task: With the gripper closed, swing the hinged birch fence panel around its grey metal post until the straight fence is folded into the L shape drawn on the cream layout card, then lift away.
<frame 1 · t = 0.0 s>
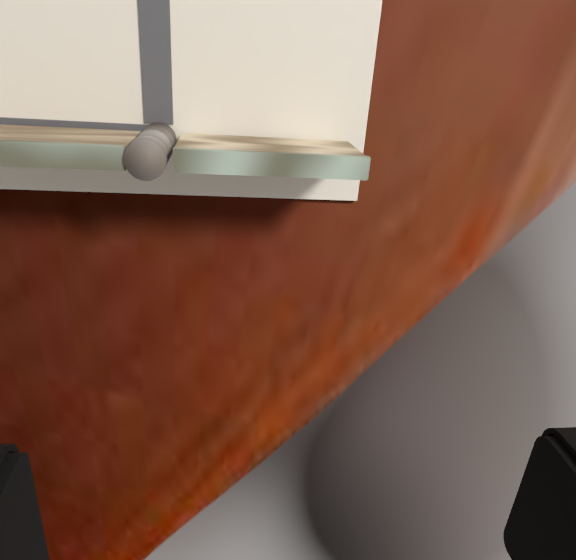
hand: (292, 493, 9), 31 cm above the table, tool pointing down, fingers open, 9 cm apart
layout card: (156, 47, 34), on the table
fence panel: (269, 154, 33), point 4 cm above the table, hinge at 0.0°
fence base: (160, 138, 36), resting on layout card
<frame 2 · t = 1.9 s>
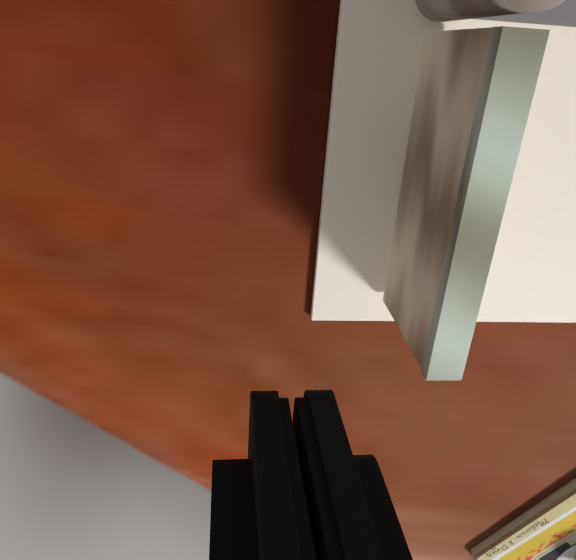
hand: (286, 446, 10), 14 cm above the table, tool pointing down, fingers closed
fence panel: (441, 202, 20), point 4 cm above the table, hinge at 0.0°
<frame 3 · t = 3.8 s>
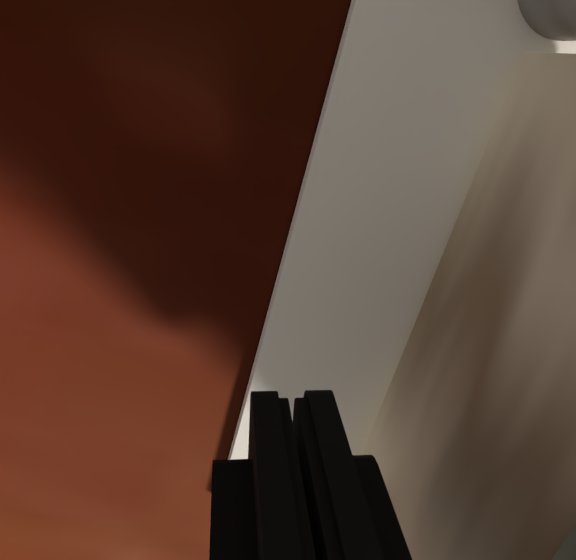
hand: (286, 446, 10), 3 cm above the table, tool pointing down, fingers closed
fence panel: (507, 412, 9), point 4 cm above the table, hinge at 0.1°, touching gripper
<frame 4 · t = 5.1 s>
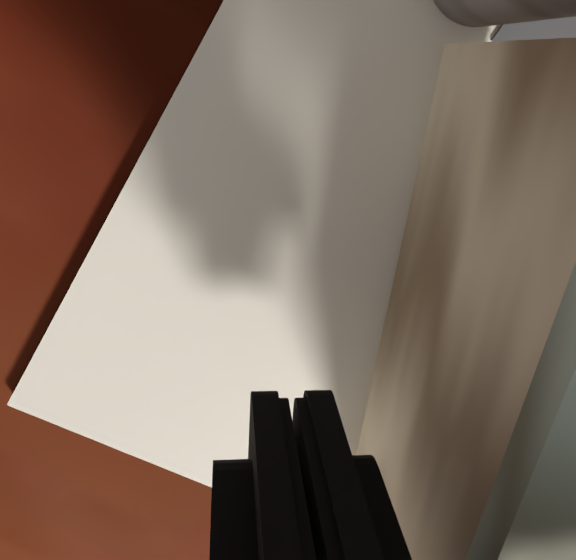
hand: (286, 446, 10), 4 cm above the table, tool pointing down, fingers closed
fence panel: (462, 381, 10), point 4 cm above the table, hinge at 26.9°, touching gripper
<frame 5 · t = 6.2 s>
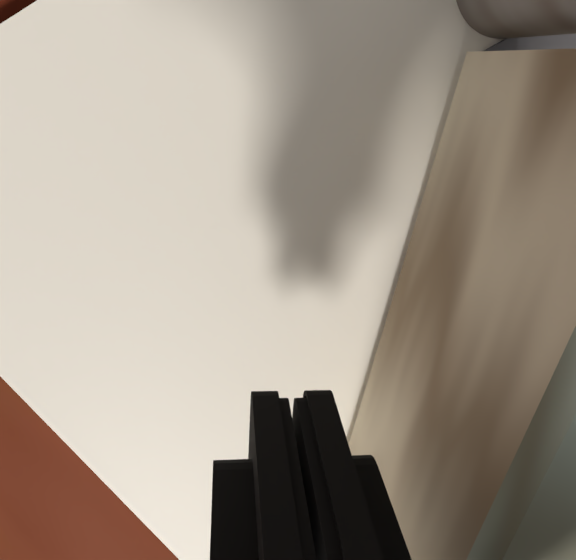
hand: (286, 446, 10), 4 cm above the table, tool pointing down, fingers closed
layout card: (569, 213, 13), on the table
fence panel: (466, 383, 10), point 4 cm above the table, hinge at 51.1°, touching gripper
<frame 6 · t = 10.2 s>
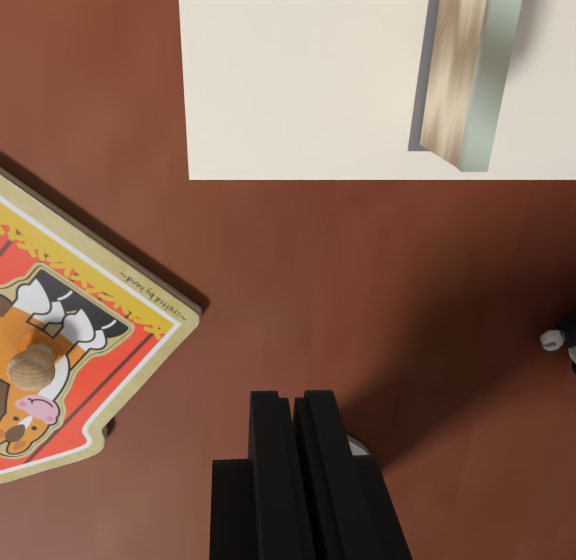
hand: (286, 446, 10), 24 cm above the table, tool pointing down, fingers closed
layout card: (441, 9, 29), on the table
fence panel: (468, 42, 26), point 4 cm above the table, hinge at 90.9°
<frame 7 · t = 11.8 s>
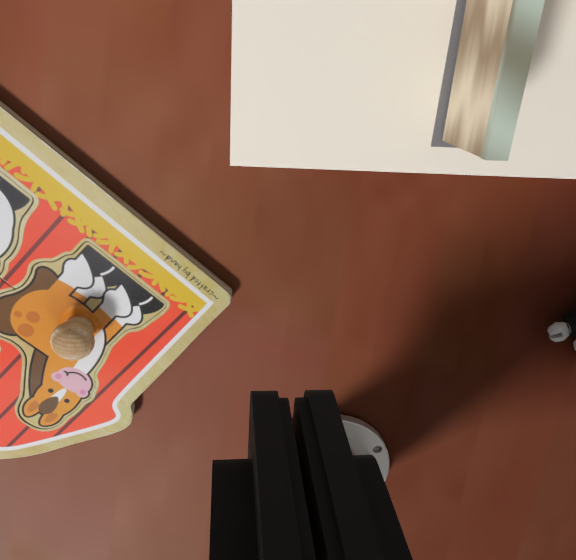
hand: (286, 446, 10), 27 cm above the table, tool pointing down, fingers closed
layout card: (465, 18, 32), on the table
fence panel: (492, 45, 29), point 4 cm above the table, hinge at 90.9°
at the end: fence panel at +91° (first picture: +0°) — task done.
